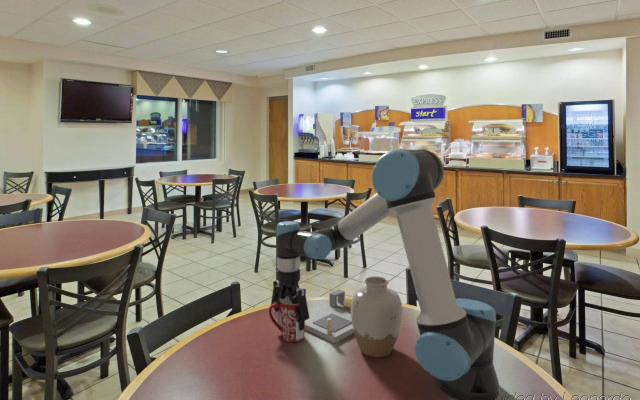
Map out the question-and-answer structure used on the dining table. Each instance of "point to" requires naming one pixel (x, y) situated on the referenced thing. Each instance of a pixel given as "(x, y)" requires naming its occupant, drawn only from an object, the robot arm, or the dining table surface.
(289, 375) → the dining table surface
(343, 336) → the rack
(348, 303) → the tan rectangular block
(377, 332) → the white ceramic vase
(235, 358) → the dining table surface
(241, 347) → the dining table surface
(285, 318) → the mug
